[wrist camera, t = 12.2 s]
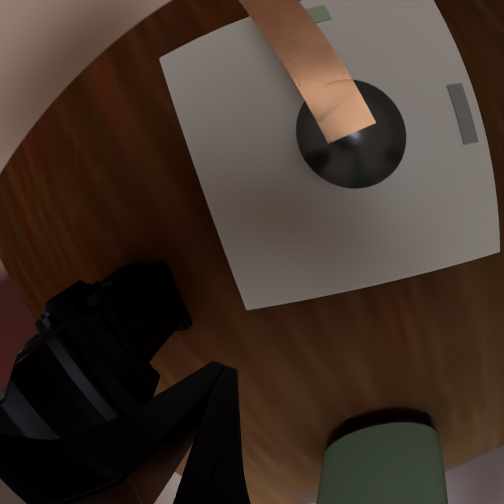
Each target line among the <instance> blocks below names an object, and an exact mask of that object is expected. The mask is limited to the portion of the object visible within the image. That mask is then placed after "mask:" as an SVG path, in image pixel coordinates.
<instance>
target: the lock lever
mask: <svg viewBox="0 0 504 504" xmlns="http://www.w3.org/2000/svg"><path fill="white" fill-rule="evenodd" d="M238 1H239V2H240V3H241V5H242V6H243V7H244V9H245V10H246V12H247V13H248V14H249V16H250V17H251V19H252V20H253V21H254V23H255V24H256V26H257V27H258V28H259V30H260V31H261V33H262V34H263V36H264V37H265V39H266V40H267V41H268V43H269V44H270V46H271V47H272V49H273V50H274V52H275V54H276V55H277V57H278V58H279V60H280V61H281V63H282V64H283V66H284V68H285V69H286V71H287V72H288V74H289V76H290V77H291V79H292V81H293V82H294V84H295V86H296V87H297V89H298V91H299V92H300V94H301V96H302V98H303V99H304V103H303V105H302V107H301V109H300V111H299V114H298V117H297V122H296V138H297V143H298V147H299V150H300V152H301V154H302V156H303V158H304V160H305V161H306V163H307V164H308V166H309V167H310V168H311V169H312V170H313V171H314V172H315V173H316V174H317V175H318V176H320V177H321V178H322V179H324V180H326V181H327V182H329V183H331V184H334V185H336V186H340V187H344V188H351V189H359V188H366V187H371V186H373V185H376V184H378V183H380V182H382V181H384V180H385V179H386V178H388V177H389V176H390V175H391V174H392V173H393V172H394V171H395V170H396V168H397V167H398V165H399V164H400V162H401V160H402V158H403V155H404V152H405V148H406V128H405V124H404V120H403V118H402V115H401V113H400V111H399V109H398V108H397V106H396V105H395V103H394V102H393V101H392V100H391V99H390V98H389V96H388V95H386V94H385V93H384V92H383V91H381V90H380V89H378V88H377V87H375V86H373V85H371V84H369V83H366V82H363V81H358V80H352V78H351V76H350V74H349V73H348V71H347V69H346V68H345V66H344V65H343V63H342V61H341V60H340V58H339V57H338V55H337V54H336V52H335V50H334V49H333V47H332V46H331V44H330V43H329V41H328V40H327V39H326V37H325V36H324V34H323V33H322V31H321V30H320V28H319V27H318V26H317V24H316V23H315V22H314V20H313V19H312V18H311V16H310V15H309V14H308V12H307V11H306V10H305V8H304V7H303V6H302V4H301V3H300V2H299V1H298V0H238Z"/></svg>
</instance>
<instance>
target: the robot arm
mask: <svg viewBox="0 0 504 504" xmlns="http://www.w3.org/2000/svg"><path fill="white" fill-rule="evenodd" d="M159 265H160V266H161V267H162V269H161V268H160V267H159ZM39 318H40V319H39V320H38V321H37V322H36V323H35V324H34V325H33V326H34V328H35V329H36V331H37V334H36V335H35V336H33V337H32V338H30V339H29V340H28V341H26V342H25V344H24V345H23V347H22V349H21V350H20V352H19V354H18V356H17V357H16V360H15V363H14V366H13V369H12V372H11V376H10V379H9V382H8V385H6V386H5V387H4V388H3V389H1V390H0V504H154V503H155V501H156V500H157V498H158V496H159V495H160V493H161V492H162V490H163V489H164V487H165V486H166V484H167V483H168V481H169V480H170V478H171V477H172V475H173V473H174V472H175V470H176V469H177V467H178V466H179V464H180V462H181V461H182V459H183V458H184V456H185V454H186V453H187V451H188V450H189V448H190V446H191V445H192V443H193V445H192V448H191V451H190V454H189V457H188V460H187V463H186V466H185V469H184V472H183V475H182V478H181V481H180V484H179V487H178V490H177V493H176V497H175V499H174V502H173V504H250V500H249V496H248V492H247V487H246V482H245V477H244V470H243V459H242V452H241V451H242V445H241V428H240V410H239V391H238V371H237V369H236V368H234V367H231V366H228V365H226V366H225V365H224V364H222V363H219V362H216V361H212V362H210V363H208V364H207V365H205V366H204V367H202V368H201V369H199V370H197V371H196V372H194V373H193V374H191V375H189V376H188V377H186V378H185V379H183V380H181V381H180V382H178V383H176V384H175V385H173V386H172V387H170V388H168V389H167V390H165V391H163V392H162V393H160V394H158V395H156V396H155V397H153V396H154V393H155V390H156V387H157V384H158V381H159V378H160V375H159V373H158V372H157V371H156V370H154V368H153V367H152V366H151V364H150V363H149V361H150V360H151V359H152V358H153V356H154V355H155V354H156V353H157V352H158V350H159V349H160V348H161V347H162V345H163V344H164V343H165V342H166V341H167V339H168V338H169V337H170V336H171V334H172V333H173V332H174V331H181V330H188V329H189V328H190V327H191V326H192V322H191V320H190V318H189V316H188V313H187V311H186V309H185V307H184V305H183V302H182V300H181V298H180V296H179V293H178V291H177V289H176V286H175V284H174V282H173V279H172V277H171V275H170V272H169V270H168V267H167V265H166V263H165V262H164V261H156V262H153V263H149V264H146V265H143V264H142V263H140V262H138V263H135V264H131V265H128V266H124V267H121V268H119V269H118V270H116V271H115V272H113V273H112V274H110V275H109V276H107V277H106V278H104V279H103V280H101V281H100V282H98V281H96V282H95V283H93V284H90V283H87V284H86V283H84V282H83V281H81V280H79V281H77V282H76V283H74V284H73V285H71V286H70V287H68V288H67V289H65V290H64V291H62V292H60V293H59V294H57V295H56V296H54V297H53V298H51V299H50V300H49V301H47V302H46V303H45V304H44V310H43V314H42V315H41V316H40V317H39ZM185 323H186V324H187V325H186V324H185Z"/></svg>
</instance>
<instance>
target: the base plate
mask: <svg viewBox="0 0 504 504" xmlns="http://www.w3.org/2000/svg"><path fill="white" fill-rule="evenodd" d="M299 2H300V3H301V4H302V6H303V7H304V8H305V10H306V11H307V12H308V14H309V15H310V16H311V18H312V19H313V20H314V22H315V23H316V24H317V26H318V27H319V28H320V30H321V31H322V33H323V34H324V36H325V37H326V39H327V40H328V41H329V43H330V44H331V46H332V47H333V49H334V50H335V52H336V54H337V55H338V57H339V58H340V60H341V61H342V63H343V65H344V66H345V68H346V69H347V71H348V73H349V74H350V76H351V78H352V80H358V81H363V82H366V83H369V84H371V85H373V86H375V87H377V88H378V89H380V90H381V91H383V92H384V93H385V94H386V95H388V96H389V98H390V99H391V100H392V101H393V102H394V103H395V105H396V106H397V108H398V109H399V111H400V113H401V115H402V118H403V120H404V124H405V128H406V148H405V152H404V155H403V158H402V160H401V162H400V164H399V165H398V167H397V168H396V170H395V171H394V172H393V173H392V174H391V175H390V176H389V177H388V178H386V179H385V180H384V181H382V182H380V183H378V184H376V185H373V186H371V187H366V188H359V189H351V188H344V187H340V186H336V185H334V184H331V183H329V182H327V181H326V180H324V179H322V178H321V177H320V176H318V175H317V174H316V173H315V172H314V171H313V170H312V169H311V168H310V167H309V166H308V164H307V163H306V161H305V160H304V158H303V156H302V154H301V152H300V150H299V147H298V143H297V138H296V122H297V117H298V114H299V111H300V109H301V107H302V105H303V103H304V99H303V98H302V96H301V94H300V92H299V91H298V89H297V87H296V86H295V84H294V82H293V81H292V79H291V77H290V76H289V74H288V72H287V71H286V69H285V68H284V66H283V64H282V63H281V61H280V60H279V58H278V57H277V55H276V54H275V52H274V50H273V49H272V47H271V46H270V44H269V43H268V41H267V40H266V39H265V37H264V36H263V34H262V33H261V31H260V30H259V28H258V27H257V26H256V24H255V23H254V21H253V20H252V19H251V17H247V18H245V19H242V20H239V21H237V22H234V23H232V24H229V25H227V26H224V27H222V28H220V29H217V30H215V31H213V32H211V33H208V34H206V35H204V36H202V37H200V38H198V39H196V40H193V41H191V42H189V43H187V44H185V45H183V46H181V47H180V48H178V49H176V50H174V51H172V52H170V53H168V54H166V55H165V56H163V57H161V58H159V60H160V63H161V66H162V69H163V72H164V76H165V79H166V82H167V85H168V88H169V91H170V94H171V97H172V101H173V104H174V107H175V110H176V113H177V116H178V119H179V122H180V125H181V128H182V131H183V134H184V137H185V140H186V143H187V146H188V149H189V152H190V155H191V158H192V161H193V164H194V166H195V169H196V172H197V175H198V178H199V181H200V184H201V187H202V190H203V192H204V195H205V198H206V201H207V204H208V207H209V209H210V212H211V215H212V218H213V221H214V224H215V226H216V229H217V232H218V235H219V237H220V240H221V243H222V246H223V248H224V251H225V254H226V257H227V259H228V262H229V265H230V268H231V270H232V273H233V276H234V278H235V281H236V284H237V286H238V289H239V292H240V294H241V297H242V300H243V302H244V305H245V308H246V310H252V309H258V308H264V307H269V306H275V305H281V304H286V303H291V302H297V301H302V300H307V299H312V298H318V297H323V296H327V295H332V294H337V293H342V292H347V291H351V290H356V289H360V288H365V287H369V286H374V285H378V284H382V283H387V282H391V281H395V280H399V279H403V278H407V277H411V276H415V275H419V274H423V273H427V272H431V271H435V270H438V269H442V268H446V267H450V266H453V265H457V264H460V263H464V262H467V261H471V260H474V259H478V258H481V257H484V256H488V255H491V254H494V253H498V252H500V238H499V219H498V207H497V197H496V189H495V182H494V175H493V169H492V163H491V157H490V152H489V147H488V143H487V138H486V134H485V130H484V126H483V122H482V118H481V114H480V111H479V107H478V104H477V101H476V97H475V94H474V91H473V88H472V85H471V82H470V79H469V77H468V74H467V71H466V69H465V66H464V63H463V61H462V58H461V56H460V54H459V51H458V49H457V46H456V44H455V42H454V40H453V38H452V35H451V33H450V31H449V29H448V27H447V25H446V23H445V21H444V19H443V17H442V15H441V13H440V11H439V10H438V8H437V6H436V4H435V2H434V1H433V0H301V1H299Z"/></svg>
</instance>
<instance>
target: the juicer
mask: <svg viewBox="0 0 504 504" xmlns="http://www.w3.org/2000/svg"><path fill="white" fill-rule="evenodd" d="M316 504H448V500H447V489H446V480H445V472H444V465H443V458H442V452H441V446H440V441H439V435H438V432H437V431H436V429H435V428H434V427H433V425H432V424H431V420H430V416H429V414H420V415H418V416H416V417H415V418H413V417H408V416H391V417H384V418H377V419H373V420H370V421H366V422H362V421H361V420H360V419H356V418H352V419H349V420H347V421H345V423H344V428H343V432H342V433H340V434H339V435H337V436H336V437H334V439H333V440H332V441H331V442H330V443H329V444H328V445H327V448H326V450H325V452H324V455H323V461H322V468H321V476H320V483H319V490H318V496H317V503H316Z"/></svg>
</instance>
